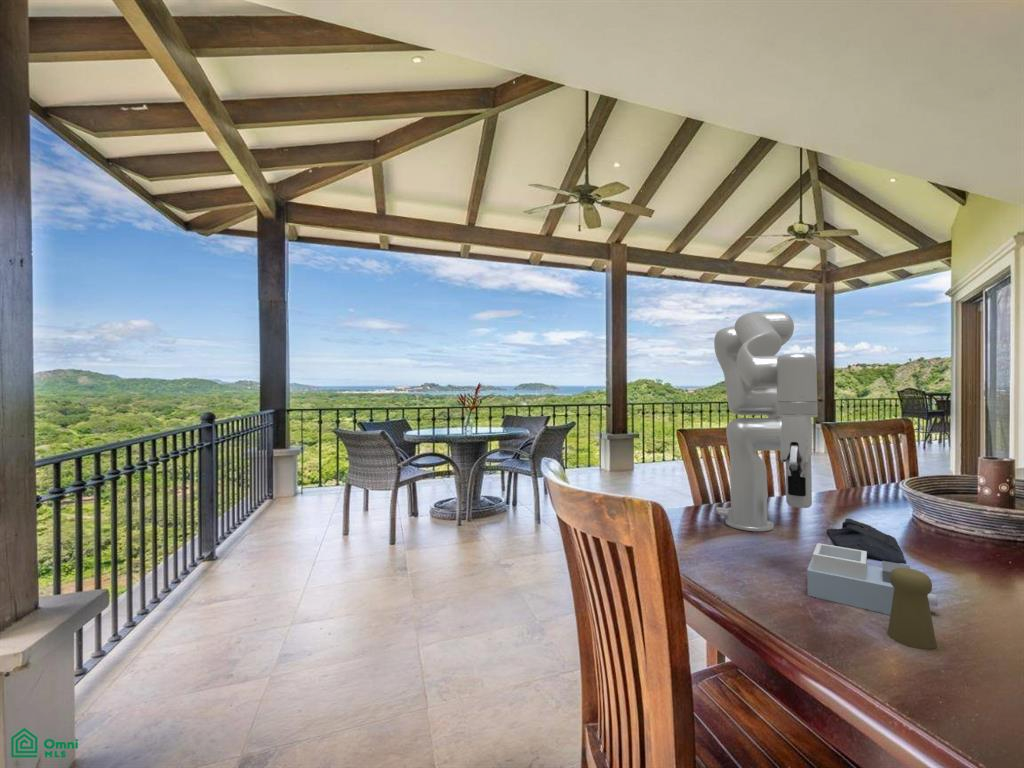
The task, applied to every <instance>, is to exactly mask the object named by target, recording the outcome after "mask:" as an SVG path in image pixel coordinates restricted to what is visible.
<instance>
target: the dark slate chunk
mask: <svg viewBox="0 0 1024 768" xmlns="http://www.w3.org/2000/svg"><path fill="white" fill-rule="evenodd" d="M826 532H827V534H828V536H829V538H830V539H831V540H832V541H833V542H834V543H835V544H836V545H837V546H838V547H844V548H850V549H856V550H862V551H867V558H869V559H871V558H872V559H874V560H875V559H876V560H880V561H887V562H892V563H898V564H904V565H907V560H906V559H905V555H904V552H903V550H902V548H901V546H900V545H899V542H898V541H897V539H896V537H894V536H892V535H890V534H887V533H884V532H882V531H880V530H878V529H877V528H875V527H873V526H872V525H869V524H866V523H863V522H860V521H858V520H855V519H853V518H845V520H844V521H843V522H842V523H841V528H827V529H826Z"/></svg>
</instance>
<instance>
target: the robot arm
mask: <svg viewBox="0 0 1024 768" xmlns="http://www.w3.org/2000/svg"><path fill="white" fill-rule="evenodd" d="M793 320H794V319H792V317H791V316H790V314H788V313H787V312H784V311H757V312H748V313H745V314H743V315H741V316H739V317H738V318H737V319H736V321H735V323H734V326H729V327H727V326H726V327H724V328H721V329H719V330H718V331H716V333H715V336H714V340H713V344H714V353H715V356H716V359H717V362H718V363H719V365H720V366H719V367H720V368H721V370H722V373H723V377H724V383H725V384H724V385H725V391H726V392H725V393H726V398H727V399H726V400H727V405H728V409H729V411H730V412H731V413H732V414H734V415H738V416H739V415H740V416H766V417H739V418H735V419H732V420H730V421H729V422H728V423H727V425H726V431H725V432H726V433H725V434H726V440H727V445H728V452H729V465H730V466H729V467H730V469H729V470H730V471H729V474H730V475H729V477H730V479H729V481H730V507H727V508H725V507H720V506H716V507H715V513H716V514H718V515H720V516H726V518H725V519H724V520H725V521H724V522H725V524H726V526H729V527H730V528H733V529H738V530H741V531H742V530H743V531H748V532H769V531H772V530H774V527H775V526H774V525H775V524H774V523H773V522H772V521H770V520H768V487H767V486H768V483H767V482H768V479H767V478H768V474H767V465H766V463H765V461H764V460H763V459H762V457H761V456H759V454H758V453H757V452H760V451H761V452H762V451H764V452H765V451H767V452H768V451H769V452H772V451H773V452H775V451H777V452H778V451H779V452H780V458H779V459H780V461H781V463H785V461H786V460H787V459H788V458H789V462H788V463H789V464H788V494H789V495H794V496H803V497H804V496H806V477H804V463H806V462H808V460H809V455H810V454H811V456H812V453H813V452H812V451H813V449H812V448H813V432H812V431H813V427H812V418H818V417H819V415H818V377H817V376H818V375H817V374H818V372H817V371H818V369H817V358H816V356H815V355H813V354H811V353H800V352H799V353H787V354H782V355H777V354H778V352H780V351H781V348H782V347H783V346H784V345H785V344H787V343H788V342H789V341H790V340H791V338H792V337H793V335H794V331H795V330H794V329H795V325H794V324H795V323H794V321H793ZM798 450H799V451H798ZM788 455H789V457H788ZM787 457H788V458H787ZM798 460H801V462H797V461H798Z"/></svg>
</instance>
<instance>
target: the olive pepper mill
mask: <svg viewBox="0 0 1024 768" xmlns="http://www.w3.org/2000/svg"><path fill="white" fill-rule="evenodd" d="M890 582H891V585H892V586H893V587H894V594H893V600H892V607H891V613H890V615H889V619H888V620H889V621H888V628H887V635H888V636H889V638H890V639H892V640H893V639H894V640H893V641H895V642H897V643H899V644H901V643H902V644H901V645H905V646H906V645H907V646H906V647H910V648H914V649H918V650H934V649H936V648H937V647H938V646H937V645H938V644H937V639H936V634H935V629H934V623H933V618H932V612H931V607H930V606H931V605H929V601H928V594H929V593H931V594H932V590H933V583H932V579H931V577H929V575H927V574H926V573H925V572H923V571H920V570H917V569H913V568H910V569H909V568H895V569H893V570H892V571H891V573H890Z"/></svg>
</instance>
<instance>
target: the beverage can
mask: <svg viewBox="0 0 1024 768" xmlns="http://www.w3.org/2000/svg"><path fill="white" fill-rule="evenodd" d="M798 451H799V450H798ZM788 457H789V455H788ZM788 457H787V458H788ZM788 462H789V458H788V459H787V460H786V461H785V462H784V463H785V499H786V500H785V502H786V503H787V505H788V506H790V507H793V508H799V509H807V508H808V509H809V508H810V507H811V506H812V505H813V491H812V488H813V485H812V484H813V483H812V481H813V480H812V479H813V478H812V475H813V474H812V455H811V454H810V455H809V460H808V462H806V463H804V477H806V496H804V497H803V496H794V495H789V494H788V464H789V463H788ZM797 462H801V460H798V461H797Z"/></svg>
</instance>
